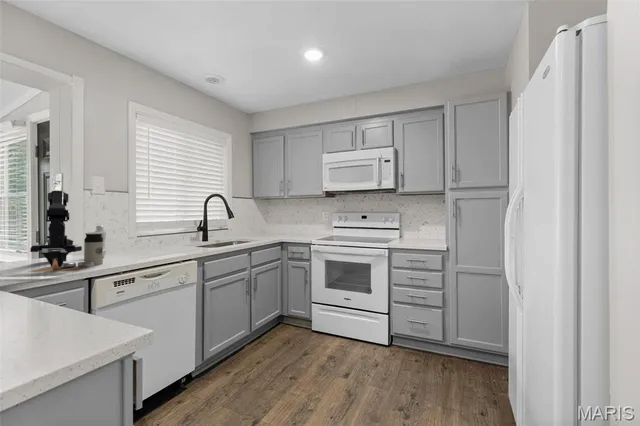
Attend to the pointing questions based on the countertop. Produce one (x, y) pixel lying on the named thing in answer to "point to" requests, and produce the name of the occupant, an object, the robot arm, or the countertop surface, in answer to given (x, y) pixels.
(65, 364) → the countertop surface
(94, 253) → the travel mug
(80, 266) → the stand
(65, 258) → the robot arm
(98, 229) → the plastic bottle
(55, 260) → the grey ball copper handle
